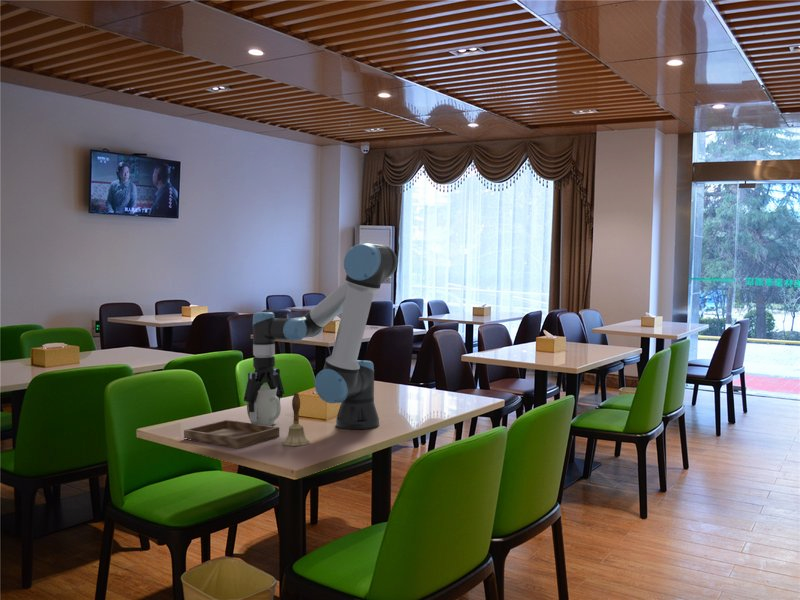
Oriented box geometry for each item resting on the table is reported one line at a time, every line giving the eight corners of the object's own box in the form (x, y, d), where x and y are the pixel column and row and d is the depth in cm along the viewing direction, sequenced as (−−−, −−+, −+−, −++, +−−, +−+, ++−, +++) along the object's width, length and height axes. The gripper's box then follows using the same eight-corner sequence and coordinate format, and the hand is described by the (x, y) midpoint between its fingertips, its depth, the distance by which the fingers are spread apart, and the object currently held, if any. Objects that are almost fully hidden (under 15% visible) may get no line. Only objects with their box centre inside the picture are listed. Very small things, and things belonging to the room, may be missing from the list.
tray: (279, 436, 243) (279, 427, 243) (238, 448, 227) (237, 438, 227) (226, 428, 256) (226, 419, 256) (184, 439, 240) (183, 430, 240)
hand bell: (284, 440, 237) (283, 391, 237) (310, 440, 238) (309, 390, 237) (282, 446, 229) (281, 395, 228) (309, 446, 230) (308, 395, 229)
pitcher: (266, 431, 250) (266, 391, 250) (236, 424, 263) (236, 385, 262) (292, 426, 258) (292, 387, 257) (262, 419, 271) (262, 382, 270)
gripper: (278, 352, 271) (278, 411, 272) (232, 359, 252) (233, 423, 253) (293, 353, 267) (294, 413, 268) (248, 360, 248) (249, 425, 249)
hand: (264, 418), depth 260 cm, fingers closed on pitcher, 11 cm apart
